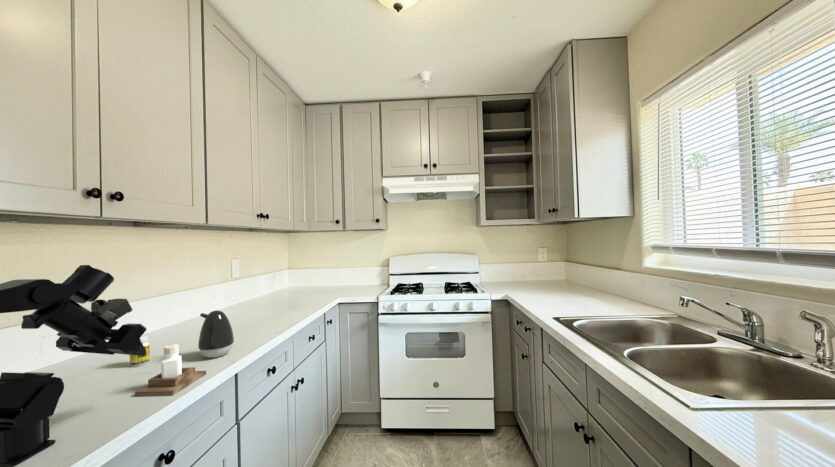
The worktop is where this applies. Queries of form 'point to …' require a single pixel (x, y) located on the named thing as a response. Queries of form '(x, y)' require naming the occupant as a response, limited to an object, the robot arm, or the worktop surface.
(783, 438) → the worktop surface
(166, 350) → the pepper shaker
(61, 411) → the worktop surface
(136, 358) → the supplement bottle
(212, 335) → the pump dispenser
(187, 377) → the stand
